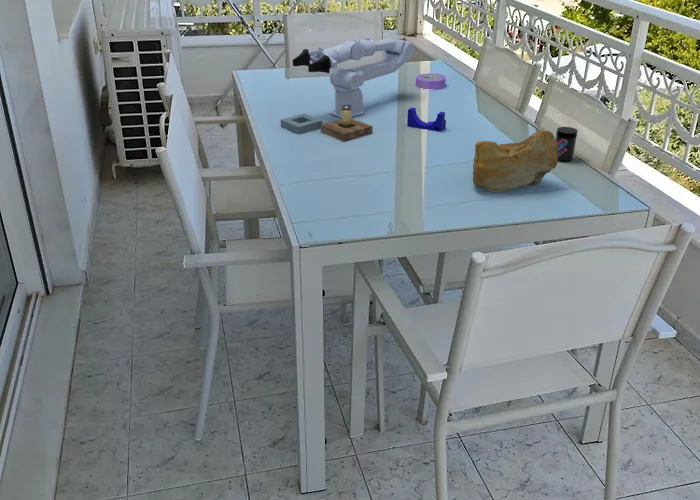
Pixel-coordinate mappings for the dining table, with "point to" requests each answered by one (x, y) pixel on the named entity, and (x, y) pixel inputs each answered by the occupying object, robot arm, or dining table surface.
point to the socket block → (346, 130)
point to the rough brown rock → (514, 162)
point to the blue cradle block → (417, 123)
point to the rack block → (301, 123)
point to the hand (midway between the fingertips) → (301, 65)
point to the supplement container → (566, 143)
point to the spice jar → (346, 116)
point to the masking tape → (430, 81)
